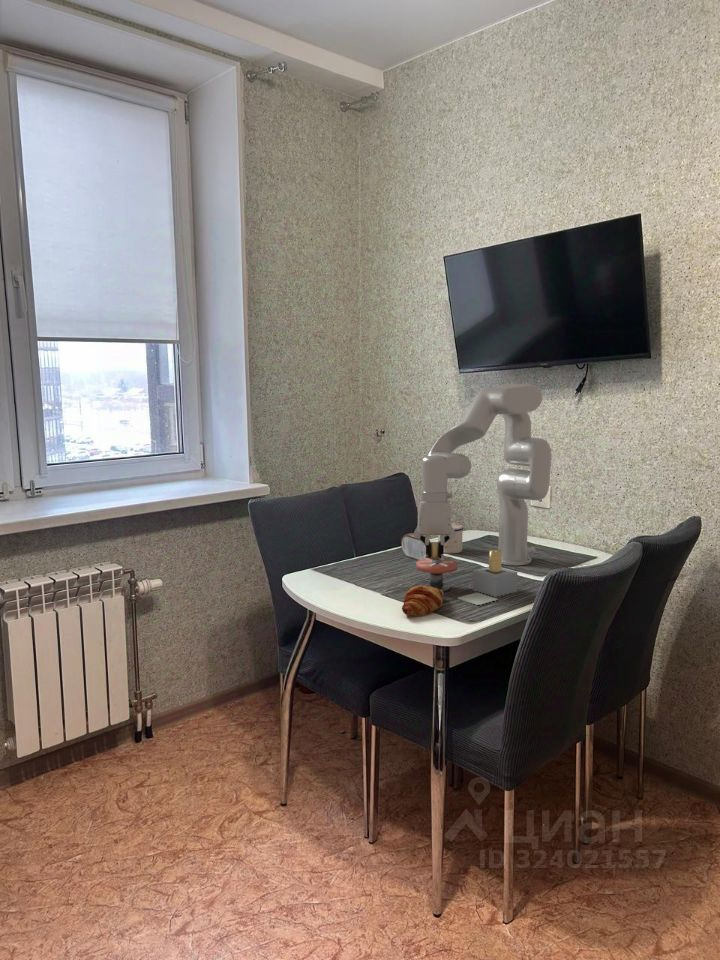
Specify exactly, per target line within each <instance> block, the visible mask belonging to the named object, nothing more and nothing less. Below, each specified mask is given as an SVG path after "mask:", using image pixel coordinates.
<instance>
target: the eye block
mask: <svg viewBox="0 0 720 960" xmlns="http://www.w3.org/2000/svg"><path fill="white" fill-rule="evenodd" d="M517 589H518V571H516V570H511V569H508V568H504V567H502V566H501V573H499V574H493V573H490V572H489V566H486V567H481V568H477V569H473V570H472V591H474V592H477V591H478V592H477V593H480V592H481V594H483V593H484V595H486V594H488V595H487V596H489V595H491V596H490V597H492V596H494V597H493V598H497V597H496V596H499V597H501V596H500V595H503V596H505V595H504V594H507V595H509V593H511V594H514V593H517V592H518V590H517ZM513 592H514V593H513Z"/></svg>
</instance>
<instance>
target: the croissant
mask: <svg viewBox="0 0 720 960" xmlns="http://www.w3.org/2000/svg"><path fill="white" fill-rule="evenodd" d="M443 595H444V592H443V591H442V590H439V589H437V588H433V587H431V586H423V585H417V586H416V585H415V586H413V587H411V588H410V589H409V590H407V591H406V593H405V595H404V600H403V604H402V606H401V611H402V612H403V614H404V615H406V616H416V617H418V616H420V617H421V616H424V615H429V614H431V613H433V612H435V611H437V610H439V609H440V608H441V607H442V605H443V603H444V602H443V599H444V597H443Z"/></svg>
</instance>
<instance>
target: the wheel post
mask: <svg viewBox="0 0 720 960" xmlns="http://www.w3.org/2000/svg"><path fill="white" fill-rule="evenodd" d="M422 586H431V587H433V588H437V589H439V590H442V591H443V593H446V592H449V591H451V585H450V584H448V583H446V582H444V573H429V581H428V582H426V583H423V585H422Z"/></svg>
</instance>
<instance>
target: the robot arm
mask: <svg viewBox="0 0 720 960" xmlns="http://www.w3.org/2000/svg"><path fill="white" fill-rule="evenodd" d="M542 402H543V393H542V390H541V388H540V387H539V386H538V385H535V384H531V383H530V384H529V383H527V384H526V383H525V384H524V383H523V384H522V383H504V384H498V385H496V386H488V387H483V388H481V389H480V390H479V391H478V392H477V394H476V396H475V397H474V398H473V400H472V402H471V404H470V405H469V408H468V409H467V411H466V412H465V414H464V415H463V418H462V419H461V421H460V422H458V423H457V424H455V425H454V426H453V427H451V428H450V429H447V431H445V432H444V433H443V434H442V435H441V436H440V437H438V438H437V440H436V441H435V443H434V444H433V445H432V447H431V449H430V451H429V453H428V455H426V456H424V457H422V460H421V500H420V501H419V502H418V507H417V508H418V509H417V525H416V528H415V530H414V532H413V534H414V537H417V538H419V539H421V540H422V541H423V542H424V543H425V545H426V555H428V558H431V544H430V542H431V540H430V536H438V535H440V542H439V558H442V556H444V554H445V553H444V544H445V543H446V542H447V541H448V540H449V539H451V538H453V537H455V536H456V533H455V531H454V529H453V527H452V519H453V518H452V508H451V501H450V500H448V499H450V498H451V499H452V498H453V493H452V492H449V491H448V480H449V479H462V478H465V477H467V476H468V475H469V474H470V472H471V469H472V461H471V459H470V457H468V456H467V455H465V454H463V453H457V452H456V453H455V452H454V451H455V450H457V449H458V448H460V447H462V446H464V445H466V444H470V443H472V442H475V441H478V440H480V439H482V438H483V437H485V436H486V434H487V432H488V431H489V428H490V427H491V425H492V423H493V421H494V420H495V418H496V416H497V415H502V417H503V419H504V440H503V441H504V443H503V458H504V461H505V462H506V463H508V464H510V465H514V466H522V467H523V466H524V467H529V470H526V469H519V468H507V469H503V470H502V471H501V472H500V473H499V474H498V476H497V479H496V487H497V495H498V500H499V501H498V504H499V505H498V506H499V507H498V508H499V509H498V510H499V512H498V514H499V515H498V548H497V550H501V551H502V565H506V566H527V565H529V564H530V563H531V562H532V558H531V557H530V556H529V555H530V554H533V553H536V548H535V547H534V546H532V547H528V530H529V528H528V527H529V526H528V525H529V508H528V505H527V503H526V501H525V500H529V501H541V500H543V499H545V498H546V496H547V494H548V493H549V490H550V481H551V480H550V479H551V467H552V449H551V446H550V444H549V442H548V441H547V440H546V439H544V438H540V437H532V420H531V418H530V414H529V413H531V412H534V411H536V410H537V409H538V408H539V407H540V406H541V404H542ZM444 535H446V536H445V537H444ZM429 540H430V541H429Z"/></svg>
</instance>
